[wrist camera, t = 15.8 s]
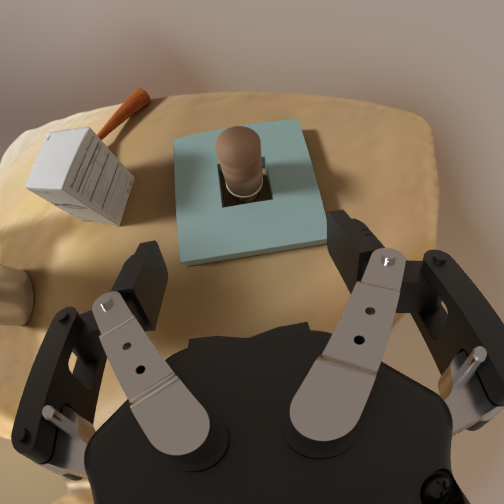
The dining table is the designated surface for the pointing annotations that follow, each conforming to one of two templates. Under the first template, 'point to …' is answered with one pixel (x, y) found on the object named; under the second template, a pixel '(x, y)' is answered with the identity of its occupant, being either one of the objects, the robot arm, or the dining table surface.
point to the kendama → (125, 111)
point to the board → (252, 214)
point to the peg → (240, 162)
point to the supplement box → (81, 176)
